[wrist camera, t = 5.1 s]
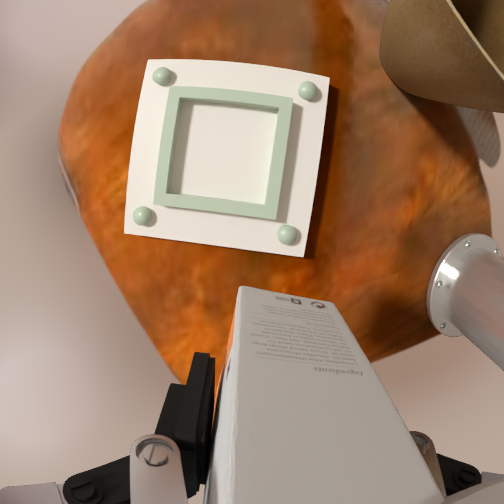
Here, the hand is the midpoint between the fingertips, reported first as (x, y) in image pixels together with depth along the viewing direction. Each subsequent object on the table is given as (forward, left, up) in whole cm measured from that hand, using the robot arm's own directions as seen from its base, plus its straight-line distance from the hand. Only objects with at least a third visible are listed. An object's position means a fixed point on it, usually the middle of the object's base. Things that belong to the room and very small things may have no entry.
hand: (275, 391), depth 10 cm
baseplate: (+5, -9, -18) cm, 20 cm away
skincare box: (0, 0, -3) cm, 3 cm away
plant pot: (-12, -22, -18) cm, 31 cm away
